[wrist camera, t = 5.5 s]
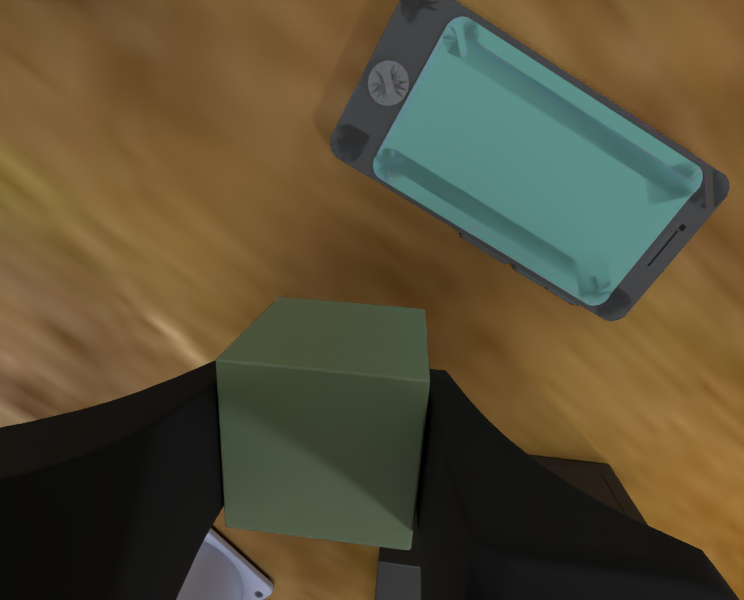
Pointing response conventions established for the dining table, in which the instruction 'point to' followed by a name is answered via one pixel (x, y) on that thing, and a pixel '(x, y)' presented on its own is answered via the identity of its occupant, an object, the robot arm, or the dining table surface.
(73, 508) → the robot arm
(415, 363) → the block
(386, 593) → the black drawer box
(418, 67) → the smartphone
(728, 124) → the dining table surface
